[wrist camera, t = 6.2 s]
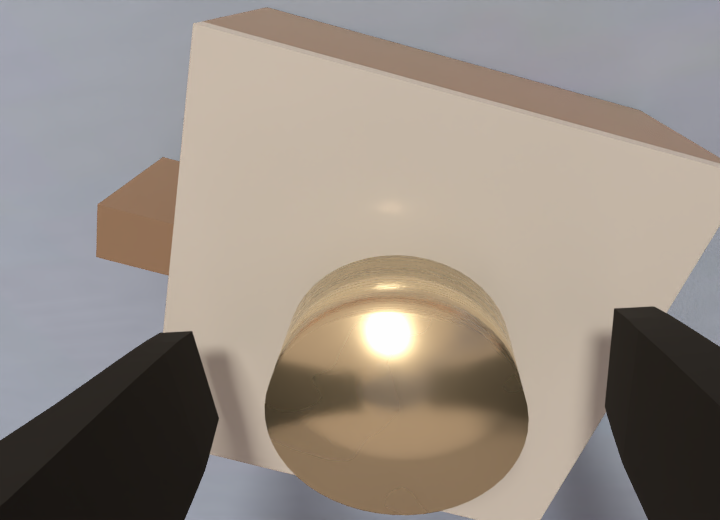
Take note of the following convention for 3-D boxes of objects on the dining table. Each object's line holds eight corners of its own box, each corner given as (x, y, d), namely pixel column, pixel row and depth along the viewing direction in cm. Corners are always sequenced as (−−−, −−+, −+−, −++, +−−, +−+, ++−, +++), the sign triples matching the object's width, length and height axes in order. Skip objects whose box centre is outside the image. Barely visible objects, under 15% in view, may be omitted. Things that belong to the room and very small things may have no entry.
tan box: (639, 110, 13) (749, 175, 9) (502, 395, 17) (531, 533, 13) (190, -14, 13) (76, -9, 8) (160, 307, 17) (74, 421, 13)
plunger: (505, 193, 13) (573, 356, 8) (452, 327, 15) (475, 538, 9) (343, 150, 13) (290, 283, 7) (309, 290, 15) (246, 481, 9)
